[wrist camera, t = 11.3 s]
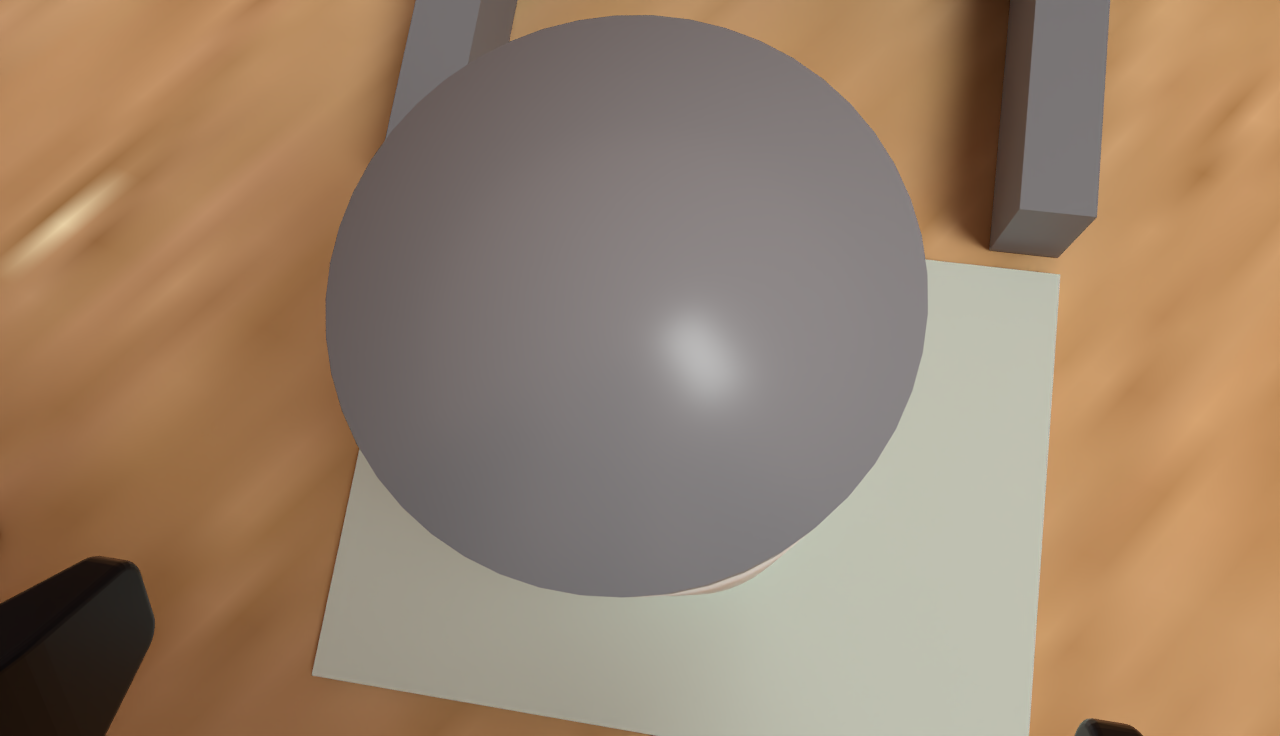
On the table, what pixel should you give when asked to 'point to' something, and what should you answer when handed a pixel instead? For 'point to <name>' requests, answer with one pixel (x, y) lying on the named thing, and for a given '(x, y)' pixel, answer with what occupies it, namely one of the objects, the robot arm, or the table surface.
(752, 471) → the grey capped tube
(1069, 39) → the dispenser rack
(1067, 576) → the table surface
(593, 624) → the sage mat
